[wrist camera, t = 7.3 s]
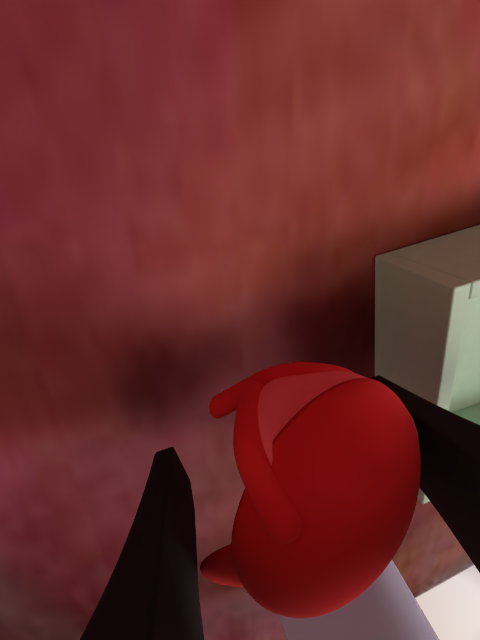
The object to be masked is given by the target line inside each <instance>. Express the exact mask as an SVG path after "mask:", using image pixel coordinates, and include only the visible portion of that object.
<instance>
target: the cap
mask: <svg viewBox="0 0 480 640" xmlns="http://www.w3.org/2000/svg"><path fill="white" fill-rule="evenodd" d="M235 410H237V412H236V417H235V424H234V436H233V446H234V455H235V459H236V463H237V467H238V470H239V473H240V476H241V478H242V481H243V483H244V485H245V490H244V492H243V495H242V498H241V500H240V503H239V506H238V509H237V513H236V516H235V520H234V525H233V531H232V542H231V544H230V545H227V546H225V547H223V548H221V549H219V550H217V551H215V552H214V553H212V554H210V555H209V556H208V557H206V558H205V559H204V560H203V562H202V563H201V565H200V570H201V573H202V574H203V575H204V577H206V578H207V579H208V580H210V581H212V582H215V583H218V584H221V585H226V586H233V587H244V588H245V589H246V591H247V592H248V593H249V595H250V596H251V597H252V598H253V599H254V600H255V601H256V602H257V603H259V604H260V605H261V606H263V607H264V608H265V609H267V610H269V611H271V612H273V613H275V614H278V615H281V616H284V617H289V618H312V617H317V616H321V615H325V614H327V613H330V612H333V611H335V610H337V609H339V608H341V607H343V606H345V605H346V604H348V603H350V602H351V601H353V600H354V599H355V598H357V597H358V596H359V595H361V594H362V593H363V592H364V591H365V590H366V589H368V588H369V587H370V586H371V585H372V584H373V583H374V582H375V580H376V579H377V578H378V577H379V576H380V575H381V574H382V572H383V571H384V570H385V569H386V567H387V566H388V564H389V563H390V562H391V560H392V559H393V557H394V555H395V554H396V552H397V550H398V549H399V547H400V545H401V543H402V541H403V539H404V537H405V535H406V532H407V530H408V528H409V525H410V522H411V519H412V517H413V513H414V510H415V506H416V502H417V497H418V492H419V485H420V474H421V458H420V447H419V440H418V433H417V429H416V426H415V423H414V421H413V419H412V417H411V415H410V413H409V412H408V410H407V409H406V407H405V405H404V404H403V402H402V401H401V400H400V399H399V397H398V396H397V395H396V394H395V393H394V392H393V391H392V390H391V389H389V388H388V387H387V386H385V385H384V384H382V383H381V382H379V381H377V380H374V379H370V378H367V377H364V376H362V375H359V374H356V373H354V372H353V371H351V370H349V369H347V368H344V367H341V366H337V365H332V364H325V363H316V362H292V363H284V364H280V365H276V366H272V367H270V368H267V369H265V370H262V371H260V372H258V373H256V374H254V375H252V376H250V377H248V378H246V379H244V380H243V381H241V382H239V383H237V384H236V385H234V386H232V387H230V388H229V389H227V390H225V391H223V392H221V393H219V394H217V395H216V396H214V397H213V398H212V400H211V401H210V405H209V411H210V414H211V415H212V416H213V417H214V418H221V417H223V416H225V415H227V414H229V413H231V412H233V411H235Z"/></svg>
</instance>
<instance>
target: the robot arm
mask: <svg viewBox="0 0 480 640" xmlns="http://www.w3.org/2000/svg"><path fill="white" fill-rule="evenodd" d="M370 379H374V380H377V381H379V382H381V383H382V384H384V385H385V386H387V387H388V388H389V389H391V390H392V391H393V392H394V393H395V394H396V395H397V396H398V397H399V399H400V400H401V401H402V402H403V404H404V405H405V407H406V409H407V410H408V412H409V413H410V415H411V417H412V419H413V421H414V423H415V426H416V429H417V433H418V440H419V447H420V458H421V474H420V485H419V488H420V489H421V490H422V492H423V493H424V494H425V495H426V497H427V498H428V499H429V500H430V502H431V503H432V504H433V506H434V507H435V508H436V510H437V511H438V512H439V514H440V515H441V517H442V518H443V520H444V521H445V522H446V524H447V525H448V527H449V528H450V530H451V531H452V532H453V534H454V535H455V537H456V538H457V540H458V541H459V543H460V544H461V546H462V547H463V549H464V550H465V552H466V553H467V554H468V556H469V557H470V559H471V560H472V562H473V563H474V565H475V566H476V568H477V569H478V571H479V572H480V425H479V424H476V423H474V422H472V421H470V420H467V419H465V418H463V417H461V416H458V415H456V414H454V413H452V412H450V411H448V410H446V409H444V408H441V407H439V406H437V405H435V404H433V403H431V402H429V401H427V400H425V399H423V398H422V397H420V396H418V395H416V394H414V393H412V392H410V391H408V390H406V389H404V388H402V387H401V386H399V385H397V384H395V383H393V382H391V381H389V380H387V379H386V378H384V377H382V376H380V375H378V376H375V377H372V378H370ZM277 615H278V614H277ZM278 616H279V615H278ZM280 617H281V620H282V624H283V628H284V632H285V636H286V639H287V640H439V639H438V637H437V635H436V634H435V632H434V630H433V628H432V627H431V625H430V623H429V622H428V620H427V618H426V616H425V615H424V613H423V611H422V610H421V608H420V606H419V605H418V603H417V601H416V599H415V598H414V596H413V594H412V593H411V591H410V589H409V588H408V586H407V584H406V582H405V581H404V579H403V577H402V576H401V574H400V572H399V571H398V569H397V567H396V565H395V564H394V562H393V560H391V562H390V563H389V564H388V566H387V567H386V569H385V570H384V571H383V572H382V574H381V575H380V576H379V577H378V578H377V579H376V580H375V582H374V583H373V584H372V585H371V586H370V587H369V588H368V589H366V590H365V591H364V592H363V593H362V594H361V595H359V596H358V597H357V598H355V599H354V600H353V601H351V602H350V603H348V604H346V605H345V606H343V607H341V608H339V609H337V610H335V611H333V612H330V613H327V614H325V615H321V616H317V617H312V618H289V617H284V616H281V615H280ZM80 640H204V634H203V626H202V618H201V610H200V602H199V590H198V571H197V549H196V528H195V510H194V503H193V496H192V489H191V483H190V479H189V477H188V475H187V473H186V471H185V469H184V467H183V465H182V463H181V461H180V459H179V457H178V455H177V453H176V451H175V449H174V447H170V448H167V449H164V450H161V451H158V452H156V454H155V456H154V459H153V463H152V467H151V470H150V474H149V477H148V480H147V483H146V487H145V490H144V493H143V496H142V499H141V502H140V505H139V507H138V510H137V513H136V516H135V519H134V522H133V524H132V527H131V529H130V532H129V534H128V537H127V540H126V542H125V545H124V547H123V550H122V552H121V555H120V557H119V559H118V562H117V564H116V566H115V569H114V571H113V573H112V575H111V578H110V580H109V582H108V584H107V586H106V588H105V590H104V593H103V595H102V597H101V599H100V601H99V603H98V605H97V607H96V609H95V611H94V613H93V615H92V617H91V619H90V621H89V623H88V625H87V627H86V629H85V631H84V633H83V635H82V636H81V638H80Z"/></svg>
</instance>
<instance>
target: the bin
mask: <svg viewBox="0 0 480 640" xmlns="http://www.w3.org/2000/svg"><path fill="white" fill-rule="evenodd" d="M378 375H380V376H382V377H384V378H386V379H387V380H389V381H391V382H393V383H395V384H397V385H399V386H401V387H402V388H404V389H406V390H408V391H410V392H412V393H414V394H416V395H418V396H420V397H422V398H423V399H425V400H427V401H429V402H431V403H433V404H435V405H437V406H439V407H441V408H444V409H446V410H448V411H450V412H452V413H454V414H456V415H458V416H461V417H463V418H465V419H467V420H470V421H472V422H474V423H476V424H479V425H480V225H476V226H473V227H470V228H466V229H463V230H460V231H457V232H453V233H450V234H447V235H443V236H440V237H437V238H433V239H430V240H427V241H424V242H420V243H417V244H414V245H410V246H407V247H404V248H400V249H397V250H394V251H391V252H387V253H384V254H381V255H377V256H375V376H378ZM417 498H418V499H419V500H420V501H421V503H422V504H424V503H427V502H429V501H430V500H429V499H428V498H427V497H426V495H425V494H424V493H423V492H422V490H421V489H420V488H419V492H418V497H417Z"/></svg>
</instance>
